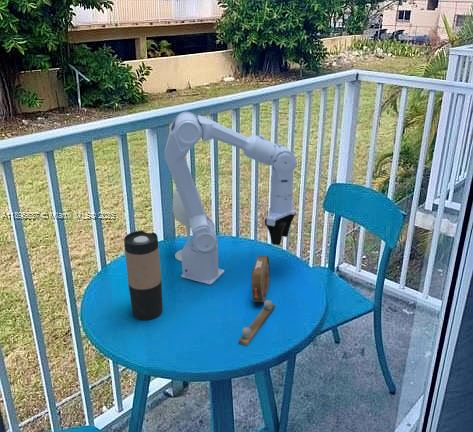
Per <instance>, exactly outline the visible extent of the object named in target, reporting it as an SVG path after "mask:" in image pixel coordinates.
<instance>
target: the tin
mask: <svg viewBox="0 0 473 432" xmlns="http://www.w3.org/2000/svg"><path fill="white" fill-rule="evenodd" d="M270 266H271V265H270V257H269V256H268V255H258V256H257V257H256V260H255V263H254V266H253V269H252V273H251V284H250V285H251V290H252V300H253V302H256V303H263V304H264V302H265V300H266V297H267V293H268V290H269V285H270V275H271V274H270V273H271V270H270V269H271V267H270Z"/></svg>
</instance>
